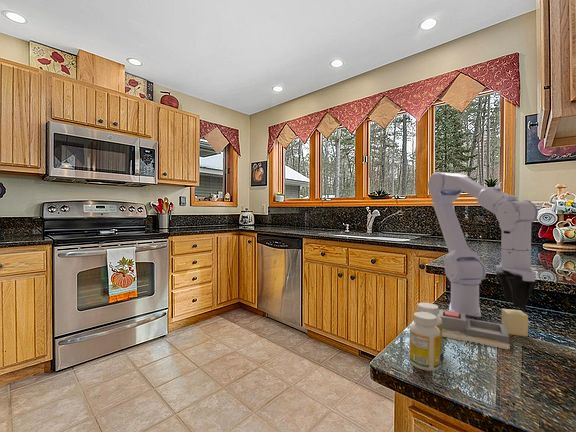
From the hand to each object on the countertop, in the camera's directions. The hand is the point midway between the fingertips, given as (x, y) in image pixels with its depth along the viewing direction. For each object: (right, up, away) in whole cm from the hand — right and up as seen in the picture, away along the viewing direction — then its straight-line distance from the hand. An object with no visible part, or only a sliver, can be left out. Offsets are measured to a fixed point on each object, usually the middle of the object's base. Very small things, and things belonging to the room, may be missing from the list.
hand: (515, 303), depth 70 cm
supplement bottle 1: (-26, -7, -10) cm, 29 cm away
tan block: (0, -7, 0) cm, 7 cm away
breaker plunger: (-15, -6, +1) cm, 16 cm away
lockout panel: (-12, -7, -1) cm, 14 cm away
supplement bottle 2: (-30, -7, -15) cm, 34 cm away
